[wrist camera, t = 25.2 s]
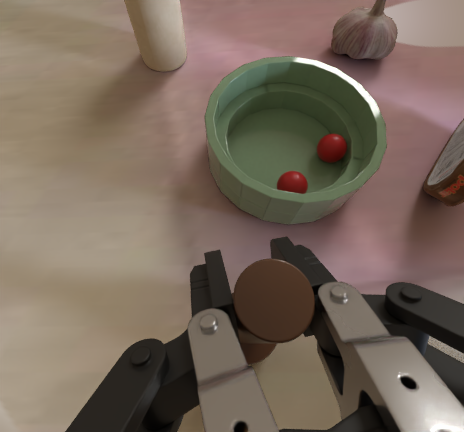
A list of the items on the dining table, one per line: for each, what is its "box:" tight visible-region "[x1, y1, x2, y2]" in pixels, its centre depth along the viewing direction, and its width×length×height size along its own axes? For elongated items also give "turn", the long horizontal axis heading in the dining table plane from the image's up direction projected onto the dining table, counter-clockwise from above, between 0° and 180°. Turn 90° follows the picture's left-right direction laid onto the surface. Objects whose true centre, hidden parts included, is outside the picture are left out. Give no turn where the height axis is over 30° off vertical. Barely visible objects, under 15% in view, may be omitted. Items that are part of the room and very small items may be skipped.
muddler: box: [232, 259, 315, 364], centre depth 14 cm, size 5×5×14 cm
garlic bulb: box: [331, 0, 397, 60], centre depth 30 cm, size 8×7×8 cm
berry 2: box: [317, 134, 347, 163], centre depth 26 cm, size 3×3×3 cm
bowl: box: [205, 56, 387, 225], centre depth 25 cm, size 16×16×6 cm
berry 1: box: [277, 171, 308, 194], centre depth 24 cm, size 3×3×3 cm
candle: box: [124, 0, 187, 72], centre depth 28 cm, size 6×6×10 cm
